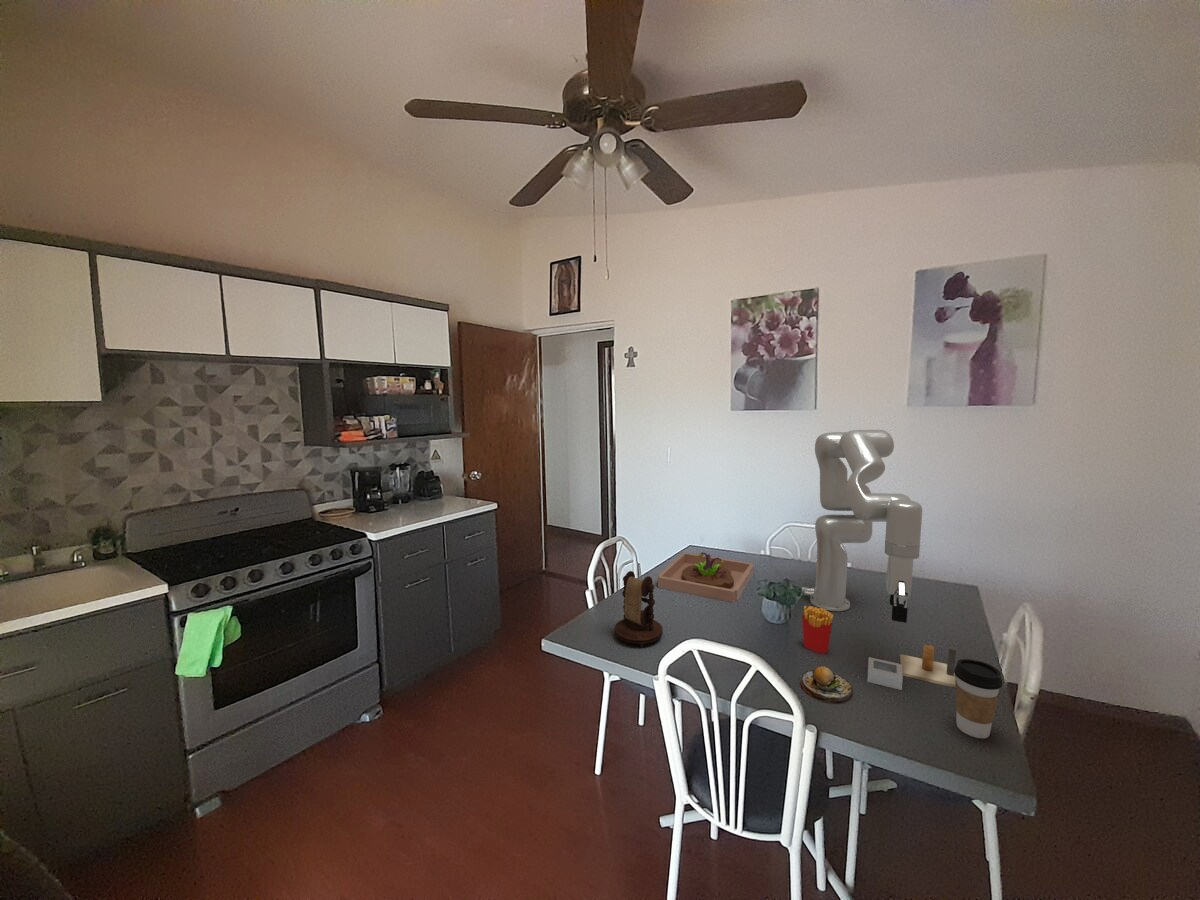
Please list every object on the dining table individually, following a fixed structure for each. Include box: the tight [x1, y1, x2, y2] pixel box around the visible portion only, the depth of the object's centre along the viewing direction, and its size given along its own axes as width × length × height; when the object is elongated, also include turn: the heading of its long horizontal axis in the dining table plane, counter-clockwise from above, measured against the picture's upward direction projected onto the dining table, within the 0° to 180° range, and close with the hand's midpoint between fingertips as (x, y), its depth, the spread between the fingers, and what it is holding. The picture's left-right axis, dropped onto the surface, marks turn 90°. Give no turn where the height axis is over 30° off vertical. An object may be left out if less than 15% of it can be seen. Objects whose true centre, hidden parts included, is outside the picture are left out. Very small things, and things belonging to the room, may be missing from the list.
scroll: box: [614, 570, 664, 648], centre depth 151 cm, size 15×15×20 cm
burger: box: [800, 665, 854, 704], centre depth 125 cm, size 12×12×8 cm
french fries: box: [801, 605, 834, 654], centre depth 143 cm, size 8×4×12 cm, turn 42°
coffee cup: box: [954, 658, 1003, 739], centre depth 109 cm, size 8×8×15 cm
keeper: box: [899, 644, 957, 689], centre depth 131 cm, size 12×10×8 cm
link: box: [867, 656, 904, 691], centre depth 128 cm, size 8×6×4 cm
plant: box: [682, 551, 734, 588], centre depth 193 cm, size 20×20×11 cm
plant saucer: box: [657, 552, 755, 603], centre depth 194 cm, size 30×30×4 cm
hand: (897, 613), depth 127 cm, fingers open, 9 cm apart
